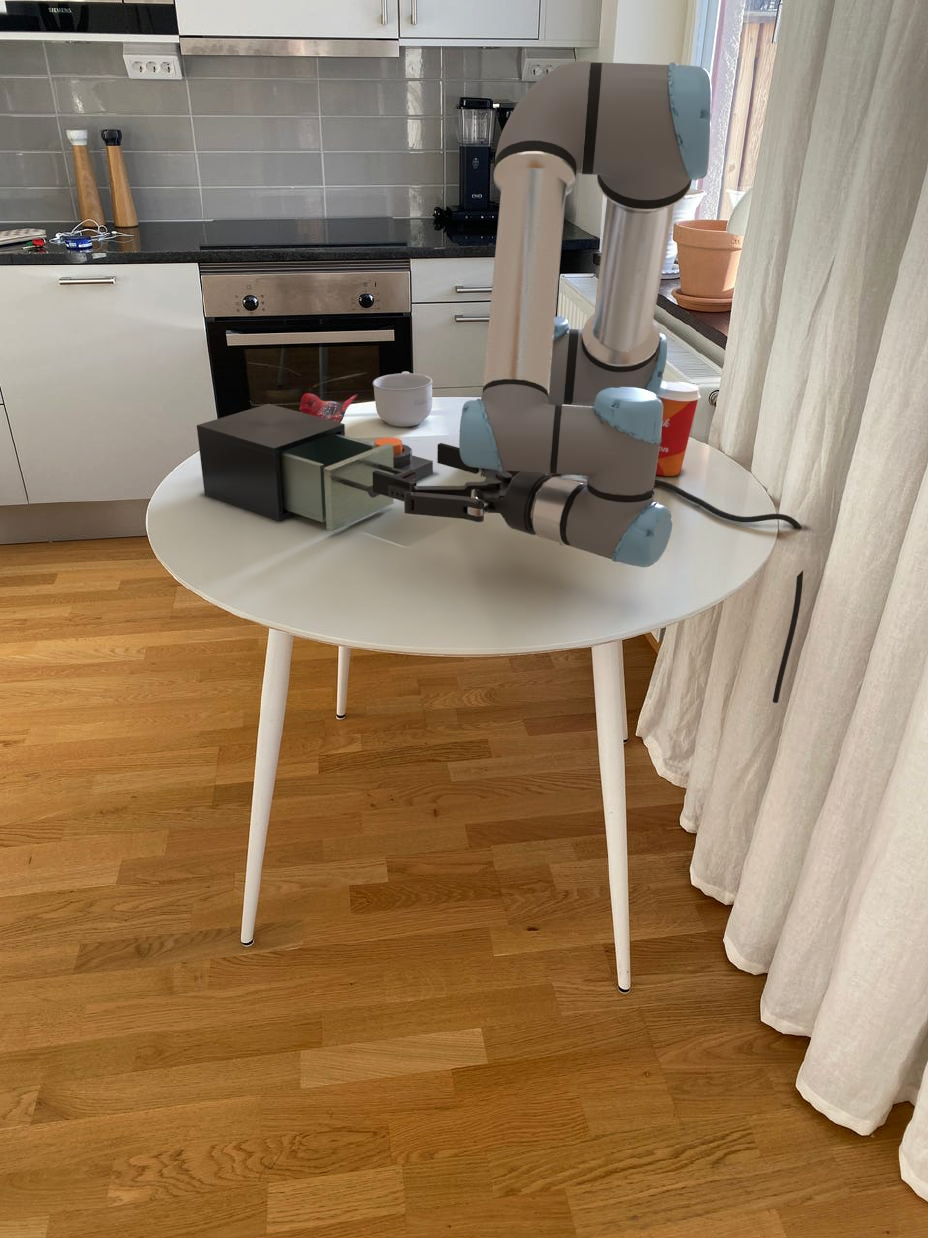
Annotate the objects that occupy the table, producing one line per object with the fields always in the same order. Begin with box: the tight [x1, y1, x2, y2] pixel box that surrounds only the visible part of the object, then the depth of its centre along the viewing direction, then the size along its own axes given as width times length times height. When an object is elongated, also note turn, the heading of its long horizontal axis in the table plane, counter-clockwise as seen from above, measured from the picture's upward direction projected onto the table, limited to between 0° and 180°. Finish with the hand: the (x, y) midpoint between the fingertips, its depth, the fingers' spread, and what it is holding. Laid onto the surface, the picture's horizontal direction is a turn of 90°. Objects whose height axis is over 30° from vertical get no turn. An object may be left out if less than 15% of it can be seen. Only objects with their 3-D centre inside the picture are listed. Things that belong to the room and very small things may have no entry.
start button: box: [373, 436, 403, 455], centre depth 148 cm, size 4×4×2 cm
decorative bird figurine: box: [298, 392, 358, 423], centre depth 161 cm, size 3×18×10 cm, turn 154°
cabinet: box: [196, 403, 346, 522], centre depth 139 cm, size 16×14×11 cm
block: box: [393, 443, 434, 482], centre depth 149 cm, size 11×9×4 cm
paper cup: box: [656, 380, 701, 477], centre depth 152 cm, size 8×8×14 cm
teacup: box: [372, 371, 433, 428], centre depth 174 cm, size 14×11×8 cm
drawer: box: [279, 433, 416, 532], centre depth 132 cm, size 21×13×9 cm, turn 54°
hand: (407, 466), depth 124 cm, fingers open, 13 cm apart
